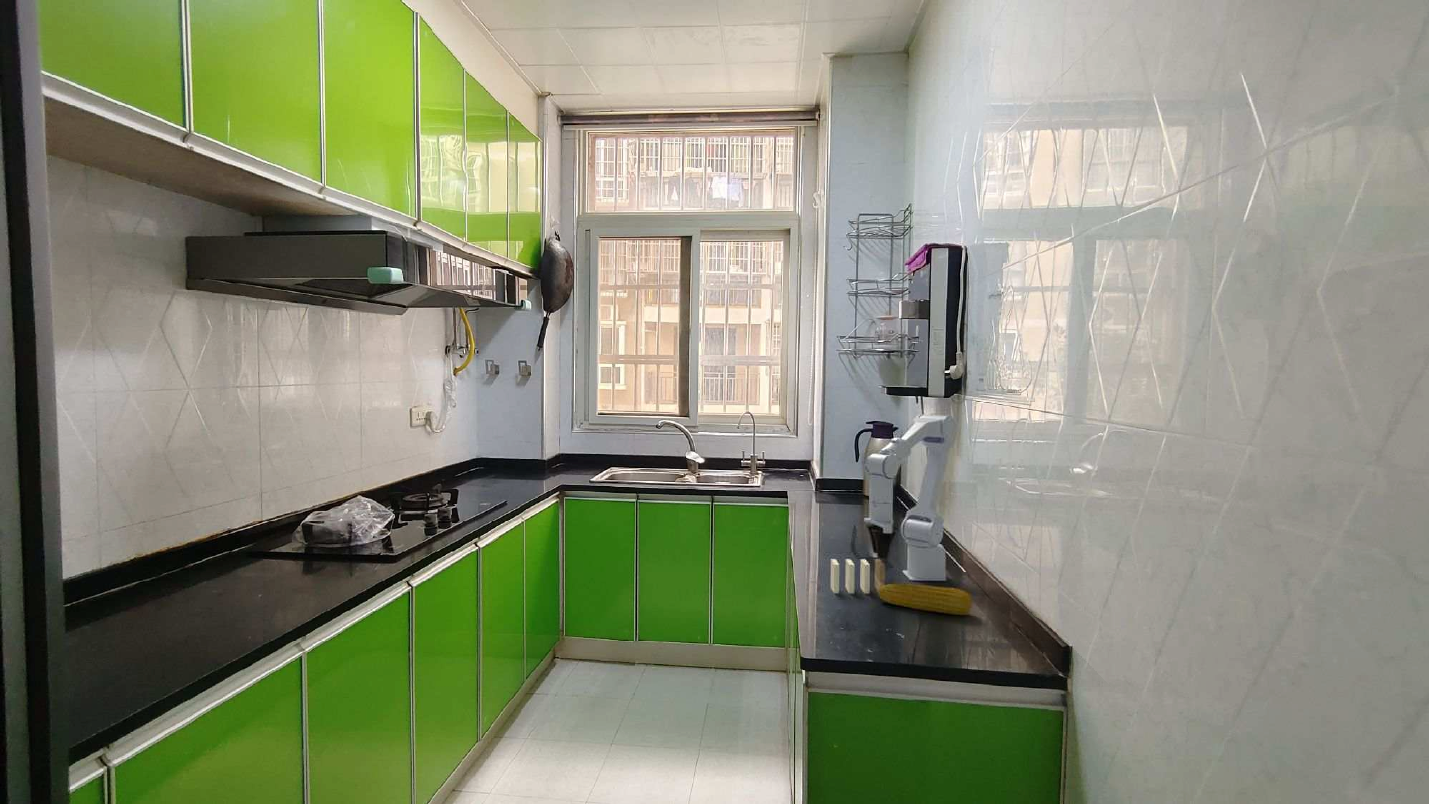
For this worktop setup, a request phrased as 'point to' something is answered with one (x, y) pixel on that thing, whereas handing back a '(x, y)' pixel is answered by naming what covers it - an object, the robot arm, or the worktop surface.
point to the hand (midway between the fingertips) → (880, 555)
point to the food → (927, 598)
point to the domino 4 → (879, 574)
